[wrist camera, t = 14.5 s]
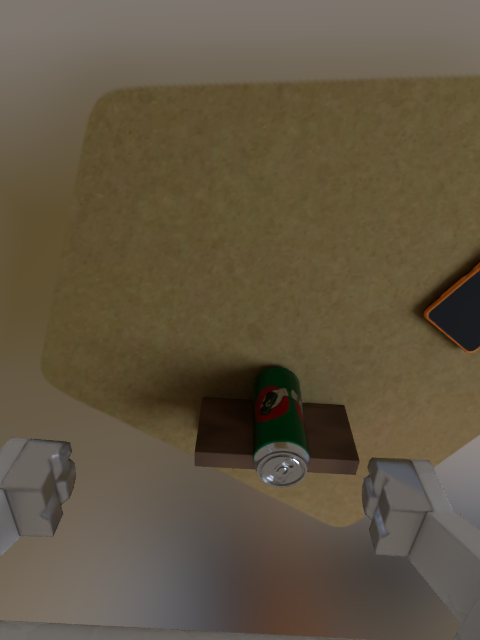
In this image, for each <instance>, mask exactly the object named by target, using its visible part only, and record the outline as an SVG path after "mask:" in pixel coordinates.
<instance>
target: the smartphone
mask: <svg viewBox="0 0 480 640" xmlns="http://www.w3.org/2000/svg"><path fill="white" fill-rule="evenodd" d="M424 317H425V318H426V319H427V320H428V321H430V322H431V323H432V324H433V325H434V326H436V327H437V328H438V329H439V330H440V331H441V332H443V333H444V334H445V335H446V336H447V337H449V338H450V339H451V340H452V341H453V342H454V343H456V344H457V345H458V346H459V347H460V348H462V349H463V350H464V351H465V352H467V353H473V352H475V351H476V350H477V349H479V348H480V263H478V264H477V265H476V266H475V267H474V268H473V270H472V271H470V272H469V273H468V274H467V275H466V276H463V277H462V278H461V279H460V280H458V281H457V282H456V283H455V284H454V285H452V286H451V287H450V288H449V289H448V290H447V291H445V292H444V293H443V294H442V295H441V297H440V298H439V299H437V300H436V301H435V302H434V303H433V304H431V305H430V306H429V307H428V308H427V309H426V310H425V311H424Z"/></svg>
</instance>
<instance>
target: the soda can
mask: <svg viewBox="0 0 480 640" xmlns="http://www.w3.org/2000/svg"><path fill="white" fill-rule="evenodd" d="M309 464H310V453H309V447H308V440H307V433H306V426H305V419H304V413H303V406H302V399H301V392H300V386H299V381H298V378H297V376H296V375H295V374H294V373H293V372H291V371H290V370H288V369H285V368H281V367H271V368H267V369H265V370H263V371H261V372H260V373H259V374H258V375H257V376H256V377H255V378H254V381H253V466H254V468H255V469H256V471H257V474H258V476H259V478H260V479H261V480H262V481H263V482H264V483H266V484H268V485H270V486H274V487H289V486H293V485H296V484H298V483H299V482H301V481H302V480H303V479H304V478H305V476H306V474H307V469H308V467H309Z"/></svg>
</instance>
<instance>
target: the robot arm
mask: <svg viewBox="0 0 480 640" xmlns="http://www.w3.org/2000/svg"><path fill="white" fill-rule="evenodd" d="M71 453H72V449H71V445H70V442H64V441H52V440H40V439H24V438H11V439H10V440H8V441H7V442H6V443H5V445H4V446H3V448H2V449H1V451H0V556H1V555H2V554H3V553H4V552H5V551H7V550H8V549H9V548H10V547H11V546H12V545H13V544H14V543H15V542H16V541H17V540H18V539H19V538H20V537H19V536H35V537H53V536H54V534H55V531H56V529H57V527H58V524H59V522H60V520H61V518H62V515H63V511H62V507H61V505H62V504H63V503H65V502H66V501H67V500H68V499H69V498H70V496H71V494H72V491H73V489H74V484H75V479H76V468H75V463H74V462H73V461H72V460H71V459H70V458H69V457H70V455H71ZM368 470H369V474H370V475H368V476H367V477H366V478H364V482H363V486H362V502H363V508H364V512H365V515H366V516H367V517H368V518H369V519H370V520H371V521H372V522H371V525H370V528H369V531H370V536H371V539H372V543H373V547H374V551H375V554H381V555H394V556H406V557H408V559H409V560H410V562H411V563H412V564H413V565H414V567H415V568H416V569H417V570H418V571H419V573H420V574H421V575H422V576H423V578H424V579H425V580H426V581H427V583H428V584H429V585H430V586H431V587H432V589H433V590H434V591H435V592H436V594H437V595H438V596H439V597H440V598H441V600H442V601H443V602H444V603H445V604H446V606H447V607H448V608H449V609H450V611H451V612H452V613H453V614H454V616H455V617H456V618H457V619H458V621H459V622H460V623H461V624H462V625H461V627H460V628H459V630H458V632H457V633H456V635H455V637H454V638H453V640H480V530H478V529H477V528H476V527H475V526H474V525H473V524H472V523H470V522H469V521H468V520H467V519H466V518H465V517H463V516H462V515H461V514H456V513H454V511H453V509H452V507H451V505H450V503H449V500H448V498H447V496H446V494H445V492H444V489H443V487H442V485H441V483H440V481H439V479H438V477H437V474H436V472H435V470H434V468H433V466H432V464H431V463H430V462H429V461H428V460H414V459H409V460H408V459H395V458H371V460H370V461H369V464H368ZM0 640H368V639H350V638H331V637H312V636H293V635H274V634H254V633H236V632H216V631H196V630H178V629H157V628H156V629H155V628H137V627H119V626H100V625H99V626H98V625H79V624H61V623H42V622H22V621H2V620H0Z"/></svg>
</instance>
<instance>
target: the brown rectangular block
mask: <svg viewBox="0 0 480 640" xmlns="http://www.w3.org/2000/svg"><path fill="white" fill-rule="evenodd" d="M302 406H303V413H304V419H305V426H306V433H307V440H308V447H309V453H310V464H309V467H308V469H307V472H314V473H332V474H351V475H356V472H357V468H358V465H359V457H358V454H357V450H356V446H355V443H354V439H353V435H352V432H351V428H350V424H349V421H348V417H347V413H346V410H345V406H344V405H328V404H310V403H302ZM195 466H203V467H221V468H240V469H255V468H254V466H253V400H237V399H219V398H203V400H202V407H201V413H200V420H199V427H198V434H197V440H196V447H195Z"/></svg>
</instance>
